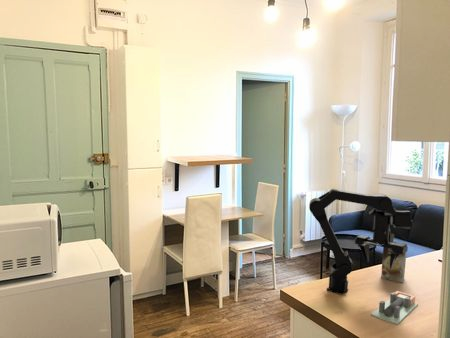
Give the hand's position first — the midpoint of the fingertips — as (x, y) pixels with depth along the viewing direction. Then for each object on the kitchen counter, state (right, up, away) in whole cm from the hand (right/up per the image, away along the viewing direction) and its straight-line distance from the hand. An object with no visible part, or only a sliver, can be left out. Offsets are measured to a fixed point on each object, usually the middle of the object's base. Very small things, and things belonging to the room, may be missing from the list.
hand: (379, 265), depth 146 cm
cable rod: (+1, -13, -12) cm, 17 cm away
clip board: (+1, -13, -12) cm, 18 cm away
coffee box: (+14, -11, +18) cm, 25 cm away
